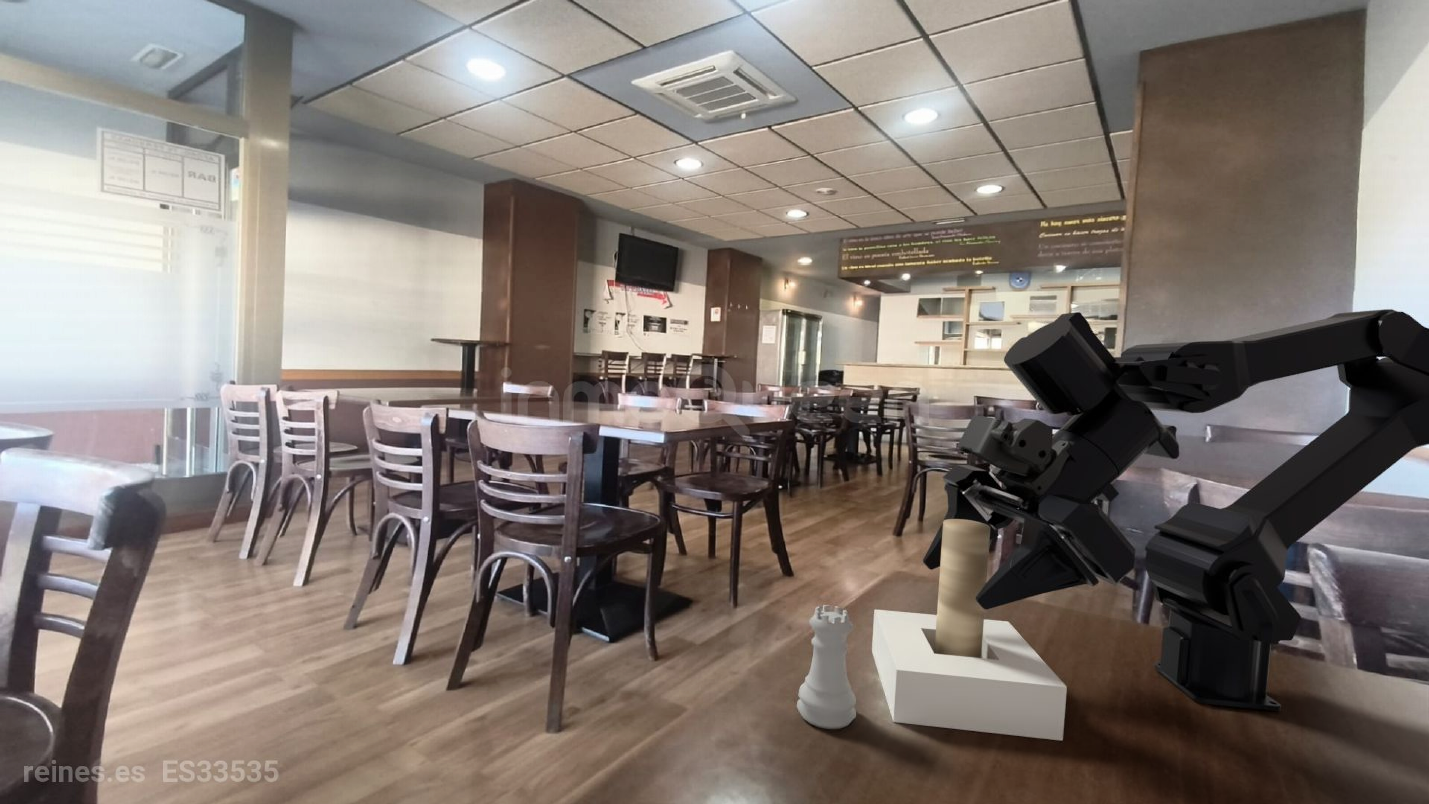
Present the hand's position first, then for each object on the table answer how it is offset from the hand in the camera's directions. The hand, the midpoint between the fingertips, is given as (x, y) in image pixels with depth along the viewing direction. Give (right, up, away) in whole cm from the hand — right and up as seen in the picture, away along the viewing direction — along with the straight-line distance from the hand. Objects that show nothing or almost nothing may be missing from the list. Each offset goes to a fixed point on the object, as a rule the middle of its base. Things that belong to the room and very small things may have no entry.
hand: (950, 583), depth 51 cm
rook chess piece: (-11, -9, -4) cm, 15 cm away
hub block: (+1, -9, +1) cm, 9 cm away
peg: (+1, -8, 0) cm, 8 cm away
